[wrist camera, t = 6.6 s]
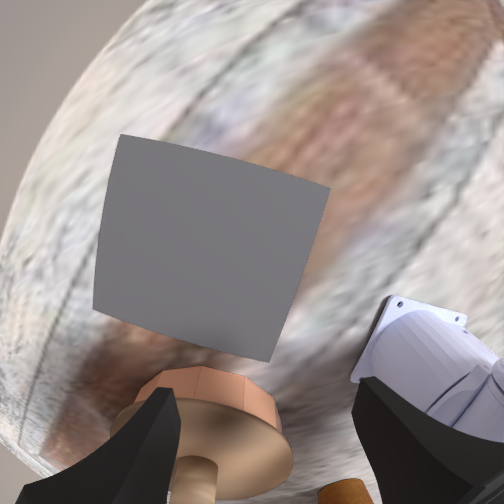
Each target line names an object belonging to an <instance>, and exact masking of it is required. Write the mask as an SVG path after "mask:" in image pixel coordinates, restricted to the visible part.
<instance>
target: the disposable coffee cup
mask: <svg viewBox="0 0 504 504" xmlns="http://www.w3.org/2000/svg"><path fill="white" fill-rule="evenodd" d="M318 504H374V503H373V501H372V499H371V497H370V495H369V493H368V491H367V489H366V487H365V485H364V483H363V481H362V480H360V479H347V480H342V481H338V482H335V483H332V484H330V485H328V486H326V487H324V488H323V489H321V490H320V491H319V493H318Z"/></svg>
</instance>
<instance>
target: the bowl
mask: <svg viewBox="0 0 504 504" xmlns="http://www.w3.org/2000/svg"><path fill="white" fill-rule="evenodd" d="M157 387H166V388H173V391H174V395H175V397H178V398H191V399H200V400H205V401H210V402H216V403H220V404H223V405H227V406H231V407H234V408H237V409H240V410H243V411H245V412H248V413H250V414H252V415H255V416H257V417H259V418H261V419H263V420H264V421H266V422H268V423H269V424H271V425H272V426H274V427H275V428H276V429H277V430H279V431H280V432H281V433H282V424H281V420H280V416H279V413H278V410H277V407H276V403H275V400H274V398H273V397H272V396H270V395H269V394H268V393H266V392H265V391H264V390H262V389H261V388H260V387H258V386H257V385H256V384H254V383H253V382H252V381H250V380H249V379H248V378H246V377H245V376H241V375H237V374H233V373H228V372H224V371H220V370H216V369H213V368H209V367H205V366H196V367H189V368H181V369H172V370H163V371H162V372H160V373H159V374H158V375H157V376H155V377H154V378H153V379H152V380H151V381H149V382H148V383H147V384H146V385H144V386H143V387H142V388H141V389H140V391H139V393H138V395H137V397H136V399H135V402H134V403H136V402H138V401H142V400H146V399H147V398H148V397H149V396H150V395H151V394H152V392H153V391H154V390H155V389H156V388H157Z"/></svg>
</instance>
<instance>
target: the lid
mask: <svg viewBox="0 0 504 504" xmlns="http://www.w3.org/2000/svg"><path fill="white" fill-rule="evenodd" d="M175 399H176V403H177V407H178V411H179V415H180V419H181V431H180V440H179V446H178V451H177V455H176V459H175V463H174V467H173V471H172V476H171V480H170V484H169V489H168V491H170V492H171V496H170V501H169V503H170V504H215V500H237V499H244V498H249V497H253V496H257V495H260V494H263V493H266V492H268V491H270V490H272V489H274V488H276V487H277V486H279V485H280V484H281V483H283V482H284V481H285V479H286V478H287V477H288V476H289V474H290V473H291V470H292V467H293V457H292V451H291V447H290V444H289V442H288V440H287V439H286V438H285V437H284V435H283V434H282V433H281V432H280V431H279V430H277V429H276V428H275V427H274V426H272V425H271V424H269V423H268V422H266V421H264V420H263V419H261V418H259V417H257V416H255V415H252V414H250V413H248V412H245V411H243V410H240V409H237V408H234V407H231V406H227V405H223V404H220V403H216V402H210V401H205V400H200V399H191V398H178V397H175ZM146 400H147V399H146ZM146 400H142V401H138V402H136V403H133V404H131V405H129V406H127V407H126V408H124V409H123V410H122V411H121V412H120V413H119V414H118V415H117V417H116V419H115V421H114V423H113V425H112V427H111V430H110V438H111V437H112V436H113V435H114V434H115V433H116V432H117V431H118V430H119V429H120V428H122V427H123V426H124V425H125V423H126V422H127V421H128V420H129V419H130V418H131V417H132V416H133V415H134V414H135V413H136V411H137V410H138V409H139V408H140V407H141V406H142V404H143V403H144V402H145V401H146Z"/></svg>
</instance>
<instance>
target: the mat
mask: <svg viewBox="0 0 504 504" xmlns="http://www.w3.org/2000/svg"><path fill="white" fill-rule="evenodd" d="M329 192H330V188H328V187H325V186H323V185H320V184H317V183H314V182H311V181H308V180H305V179H302V178H298V177H295V176H292V175H289V174H286V173H283V172H279V171H276V170H273V169H269V168H266V167H263V166H259V165H256V164H252V163H248V162H245V161H241V160H237V159H234V158H230V157H226V156H222V155H218V154H214V153H210V152H206V151H202V150H198V149H194V148H189V147H185V146H180V145H176V144H171V143H166V142H161V141H156V140H151V139H146V138H141V137H135V136H129V135H124V134H121V135H120V138H119V142H118V146H117V150H116V153H115V157H114V162H113V166H112V170H111V174H110V179H109V184H108V188H107V194H106V199H105V204H104V210H103V216H102V222H101V228H100V235H99V243H98V251H97V260H96V270H95V282H94V298H93V309H94V310H96V311H99V312H101V313H104V314H106V315H109V316H112V317H114V318H117V319H120V320H122V321H125V322H128V323H130V324H133V325H136V326H139V327H142V328H145V329H148V330H151V331H154V332H157V333H160V334H163V335H166V336H169V337H172V338H176V339H179V340H182V341H185V342H189V343H192V344H196V345H199V346H203V347H206V348H210V349H214V350H218V351H221V352H225V353H229V354H233V355H237V356H241V357H246V358H250V359H254V360H259V361H263V362H268V363H269V361H270V359H271V356H272V354H273V351H274V349H275V346H276V344H277V341H278V339H279V336H280V334H281V331H282V328H283V326H284V323H285V321H286V318H287V315H288V313H289V310H290V307H291V305H292V302H293V299H294V296H295V294H296V291H297V288H298V285H299V283H300V280H301V277H302V274H303V271H304V268H305V266H306V263H307V260H308V257H309V254H310V251H311V248H312V245H313V242H314V239H315V236H316V233H317V230H318V227H319V224H320V221H321V217H322V214H323V211H324V208H325V205H326V202H327V198H328V195H329Z"/></svg>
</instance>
